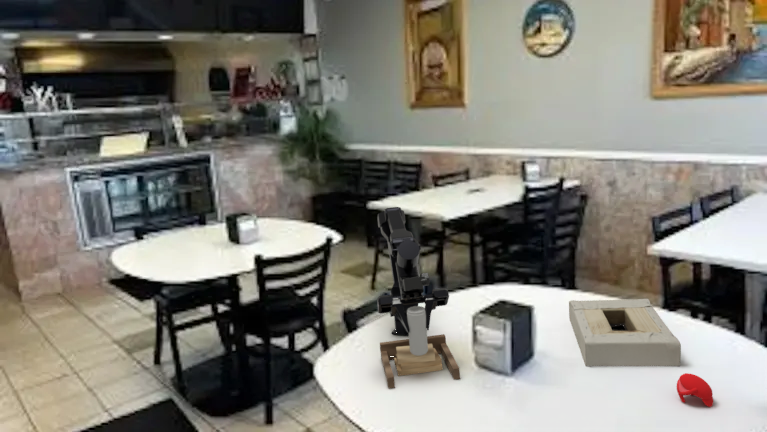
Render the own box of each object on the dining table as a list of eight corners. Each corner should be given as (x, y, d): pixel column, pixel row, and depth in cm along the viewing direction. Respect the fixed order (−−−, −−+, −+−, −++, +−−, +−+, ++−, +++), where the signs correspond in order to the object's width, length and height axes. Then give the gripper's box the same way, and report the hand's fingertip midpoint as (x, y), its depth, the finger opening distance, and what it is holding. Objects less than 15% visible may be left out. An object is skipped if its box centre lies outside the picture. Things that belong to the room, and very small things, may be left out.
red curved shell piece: (667, 387, 133) (689, 383, 128) (676, 370, 137) (698, 365, 132) (691, 415, 133) (714, 412, 128) (700, 396, 136) (723, 393, 131)
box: (682, 369, 149) (647, 319, 179) (682, 340, 147) (647, 295, 178) (586, 371, 153) (568, 322, 183) (585, 343, 151) (567, 298, 182)
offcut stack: (394, 362, 165) (392, 347, 164) (436, 356, 166) (435, 341, 165) (398, 376, 157) (396, 360, 156) (442, 370, 158) (441, 354, 157)
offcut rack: (381, 359, 168) (379, 342, 167) (445, 350, 170) (444, 334, 169) (388, 388, 151) (386, 370, 150) (460, 378, 153) (458, 360, 152)
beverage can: (407, 354, 155) (403, 311, 152) (414, 347, 159) (411, 305, 156) (424, 357, 152) (420, 313, 150) (431, 349, 157) (428, 306, 154)
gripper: (374, 267, 153) (383, 323, 145) (445, 259, 155) (457, 314, 147) (374, 286, 163) (382, 339, 155) (440, 277, 164) (452, 330, 156)
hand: (418, 330), depth 153 cm, fingers closed on beverage can, 5 cm apart
